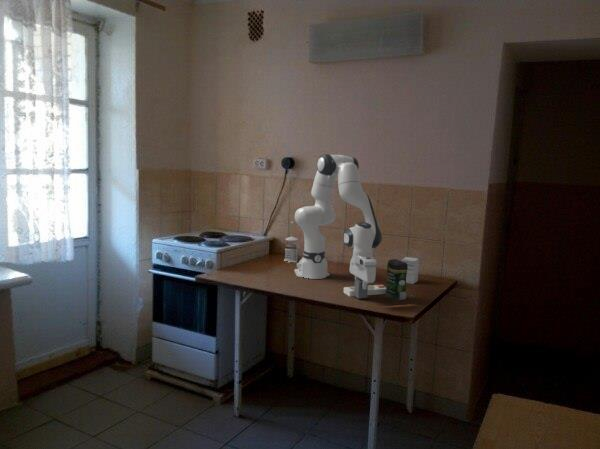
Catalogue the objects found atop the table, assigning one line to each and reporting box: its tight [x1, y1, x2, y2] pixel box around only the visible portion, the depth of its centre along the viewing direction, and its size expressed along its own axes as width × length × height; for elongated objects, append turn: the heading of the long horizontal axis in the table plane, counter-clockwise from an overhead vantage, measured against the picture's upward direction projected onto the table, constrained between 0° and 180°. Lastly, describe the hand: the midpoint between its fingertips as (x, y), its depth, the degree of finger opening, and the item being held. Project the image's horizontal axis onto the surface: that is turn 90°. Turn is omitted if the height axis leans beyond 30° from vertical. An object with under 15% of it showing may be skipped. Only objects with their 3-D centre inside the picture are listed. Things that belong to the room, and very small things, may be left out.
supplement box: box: [401, 256, 420, 285], centre depth 262 cm, size 7×7×13 cm
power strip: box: [343, 284, 387, 297], centre depth 234 cm, size 7×20×4 cm, turn 109°
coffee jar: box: [385, 258, 408, 301], centre depth 229 cm, size 10×8×19 cm
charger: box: [353, 278, 369, 300], centre depth 226 cm, size 4×4×8 cm
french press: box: [283, 221, 300, 263], centre depth 303 cm, size 10×12×25 cm
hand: (361, 287), depth 225 cm, fingers closed on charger, 4 cm apart
